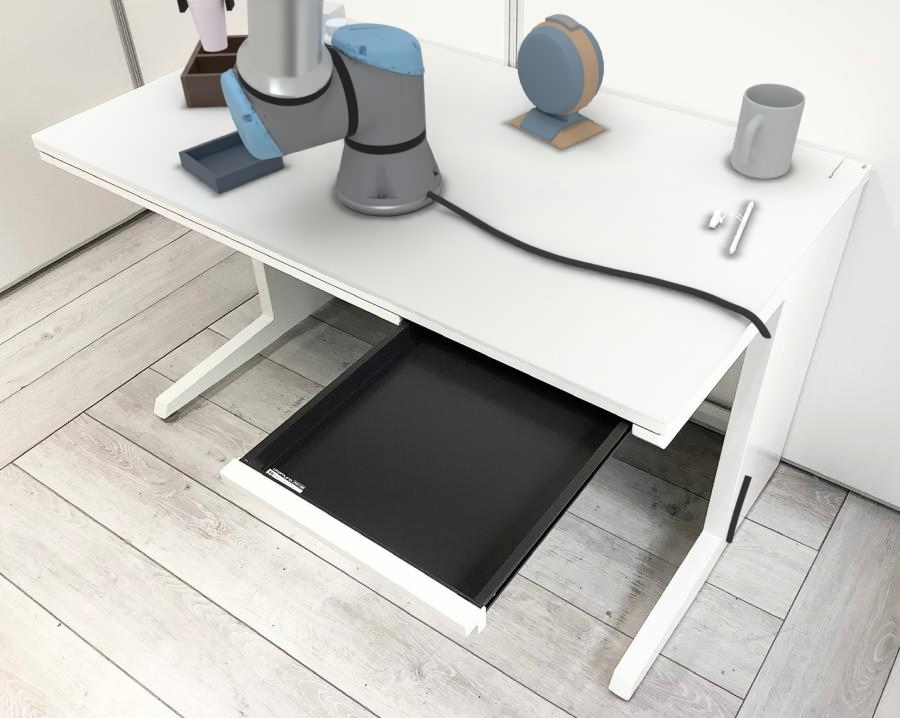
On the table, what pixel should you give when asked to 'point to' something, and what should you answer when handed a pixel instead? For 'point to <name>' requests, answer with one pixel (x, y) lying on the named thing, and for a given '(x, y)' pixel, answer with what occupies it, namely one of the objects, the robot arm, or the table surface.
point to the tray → (226, 163)
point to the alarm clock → (559, 80)
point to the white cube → (331, 14)
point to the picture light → (717, 219)
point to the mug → (767, 130)
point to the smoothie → (210, 23)
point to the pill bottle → (333, 29)
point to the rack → (209, 73)
